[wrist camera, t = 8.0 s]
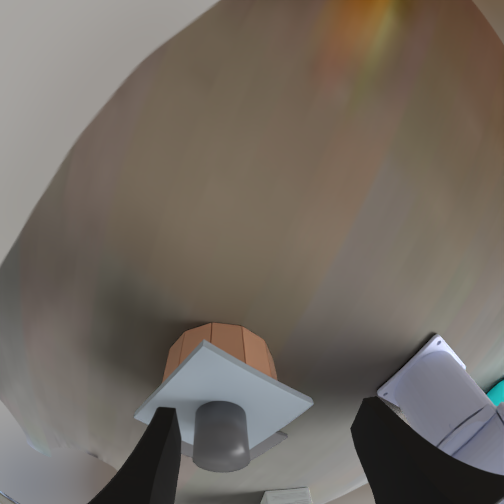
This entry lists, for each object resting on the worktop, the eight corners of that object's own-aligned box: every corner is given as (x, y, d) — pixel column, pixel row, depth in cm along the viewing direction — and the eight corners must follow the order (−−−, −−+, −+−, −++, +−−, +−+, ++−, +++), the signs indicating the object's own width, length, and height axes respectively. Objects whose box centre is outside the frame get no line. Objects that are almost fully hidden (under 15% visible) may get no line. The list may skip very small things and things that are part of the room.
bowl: (292, 357, 22) (305, 398, 17) (230, 410, 23) (231, 450, 19) (208, 304, 20) (204, 344, 15) (151, 369, 21) (140, 410, 17)
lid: (311, 397, 18) (327, 446, 14) (232, 453, 19) (235, 496, 15) (203, 339, 15) (199, 394, 11) (135, 411, 17) (123, 458, 13)
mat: (287, 434, 25) (287, 437, 25) (231, 468, 27) (231, 471, 27) (211, 402, 23) (211, 405, 22) (161, 442, 25) (161, 445, 24)
